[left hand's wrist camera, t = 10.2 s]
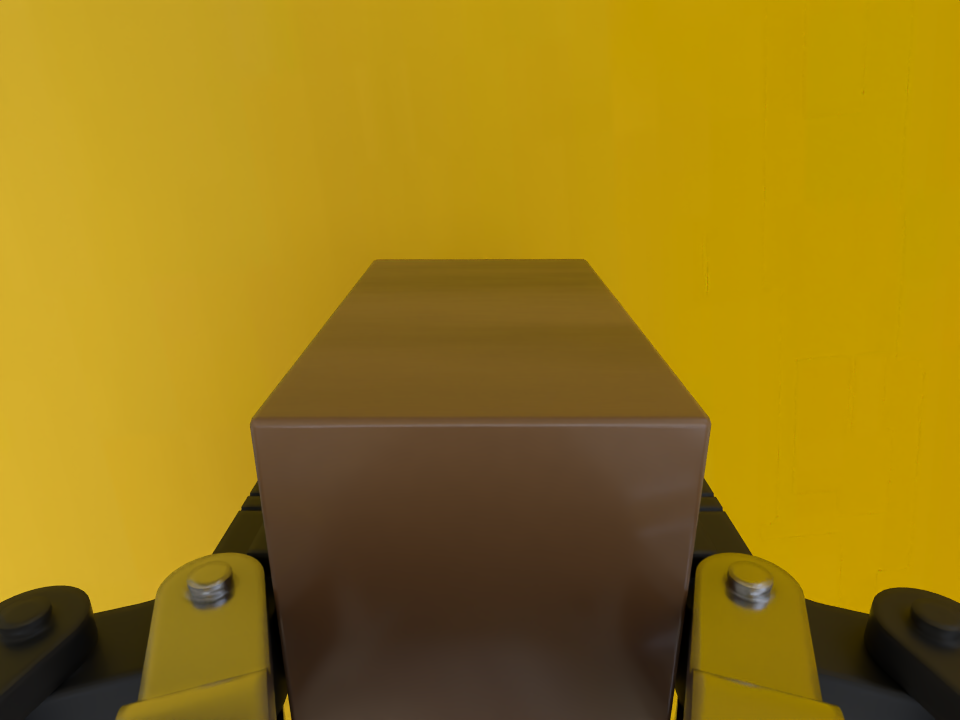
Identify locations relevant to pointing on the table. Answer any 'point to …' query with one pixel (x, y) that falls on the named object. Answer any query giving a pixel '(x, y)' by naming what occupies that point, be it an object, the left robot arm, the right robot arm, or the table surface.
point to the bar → (480, 500)
